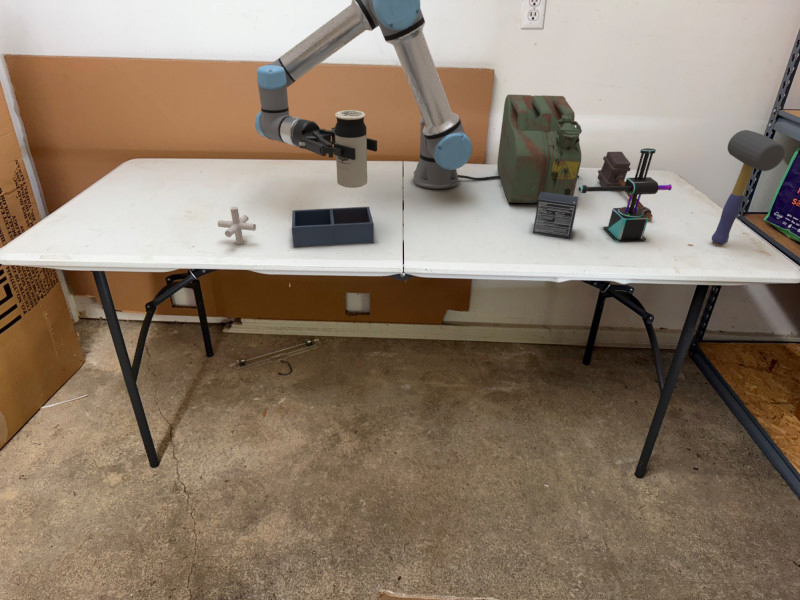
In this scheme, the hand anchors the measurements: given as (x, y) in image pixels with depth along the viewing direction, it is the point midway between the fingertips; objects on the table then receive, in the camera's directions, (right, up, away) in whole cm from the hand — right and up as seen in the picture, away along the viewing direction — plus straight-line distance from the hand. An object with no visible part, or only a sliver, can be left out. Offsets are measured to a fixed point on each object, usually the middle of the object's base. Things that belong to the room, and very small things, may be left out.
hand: (365, 150), depth 132 cm
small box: (+52, -18, +17) cm, 58 cm away
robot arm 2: (+68, -20, +16) cm, 72 cm away
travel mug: (-4, -7, +8) cm, 11 cm away
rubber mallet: (+97, -23, +13) cm, 100 cm away
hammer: (+82, -6, +38) cm, 90 cm away
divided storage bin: (-10, -20, +13) cm, 26 cm away
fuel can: (+53, 0, +45) cm, 70 cm away
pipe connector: (-34, -23, +9) cm, 42 cm away
